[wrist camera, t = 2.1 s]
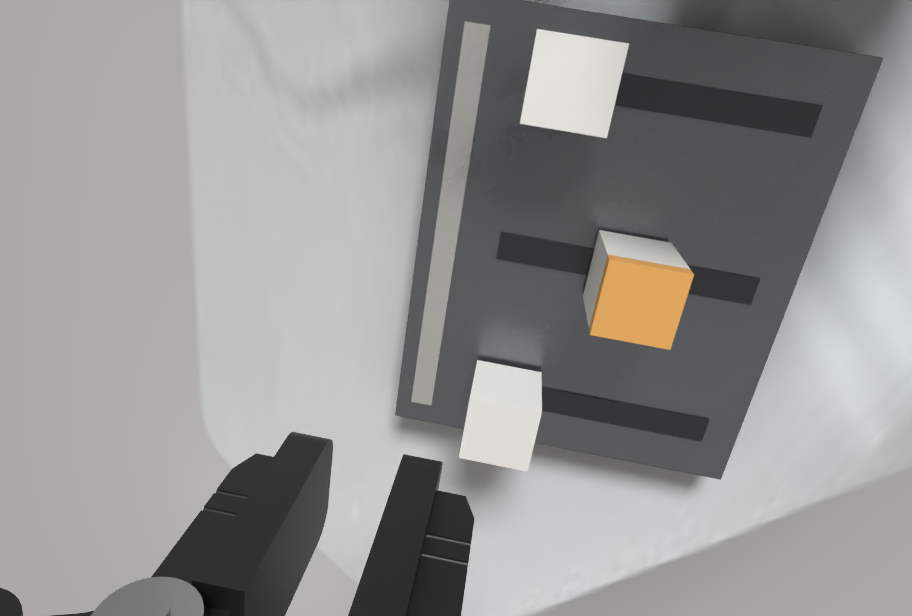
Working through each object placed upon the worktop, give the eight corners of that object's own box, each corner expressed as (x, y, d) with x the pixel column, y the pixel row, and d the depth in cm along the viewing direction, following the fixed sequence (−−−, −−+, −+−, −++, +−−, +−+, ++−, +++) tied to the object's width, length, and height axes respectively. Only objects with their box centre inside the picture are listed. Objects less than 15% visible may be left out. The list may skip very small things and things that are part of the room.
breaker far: (541, 372, 29) (541, 411, 26) (529, 427, 30) (527, 471, 27) (477, 360, 29) (469, 398, 26) (467, 414, 30) (458, 457, 27)
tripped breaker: (671, 242, 26) (694, 274, 22) (651, 308, 27) (670, 349, 23) (599, 230, 26) (609, 259, 22) (583, 296, 27) (589, 335, 23)
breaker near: (617, 45, 23) (629, 43, 20) (597, 127, 25) (607, 138, 21) (537, 32, 24) (537, 28, 20) (522, 114, 25) (519, 123, 21)
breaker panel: (857, 57, 25) (884, 57, 23) (710, 455, 32) (721, 480, 30) (457, -6, 25) (450, -11, 24) (403, 395, 33) (394, 416, 31)
